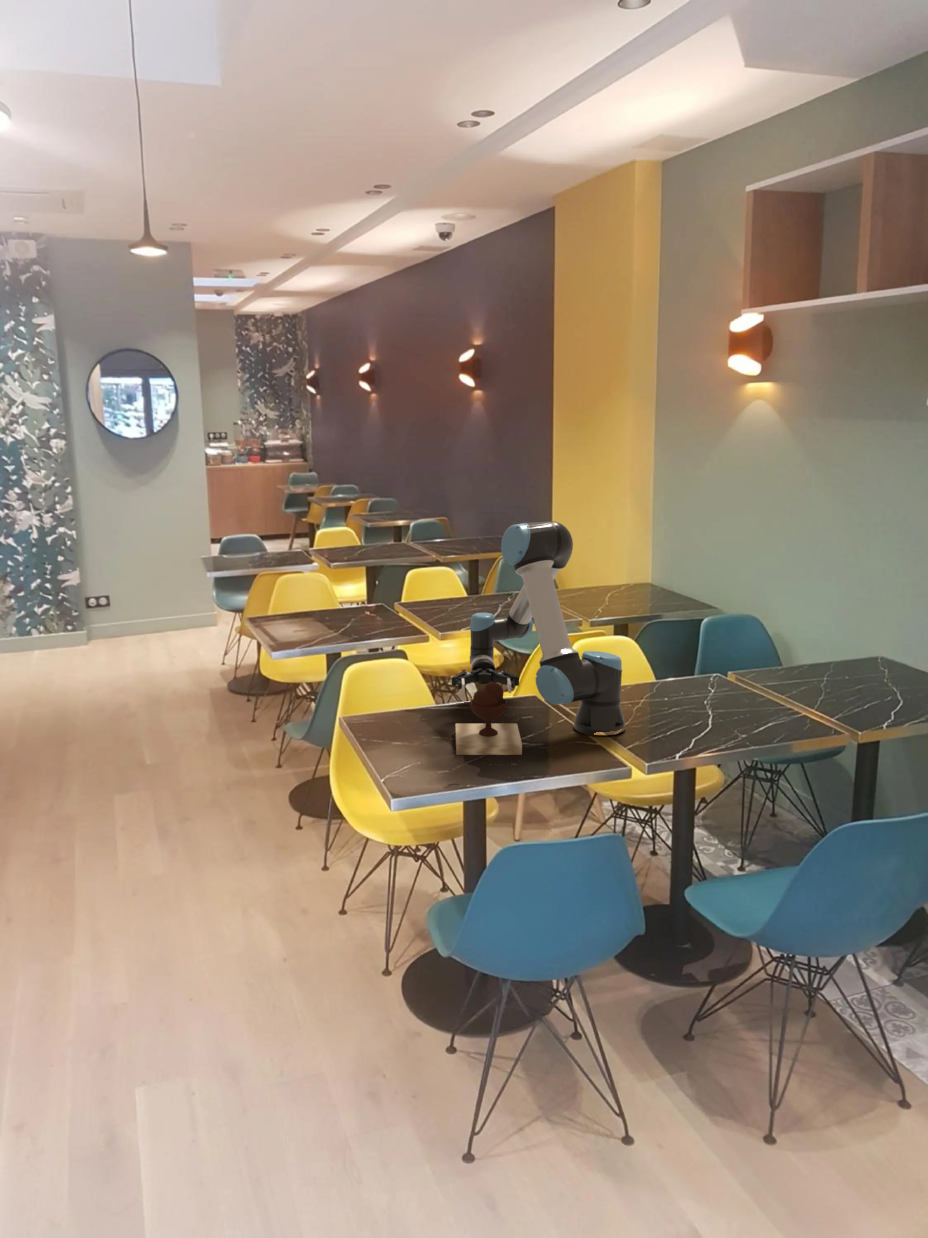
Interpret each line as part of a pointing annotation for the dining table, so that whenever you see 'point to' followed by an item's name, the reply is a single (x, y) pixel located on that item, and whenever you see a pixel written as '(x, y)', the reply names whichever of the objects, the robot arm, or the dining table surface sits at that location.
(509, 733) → the maple stand board
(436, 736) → the dining table surface
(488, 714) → the ice cream bowl
